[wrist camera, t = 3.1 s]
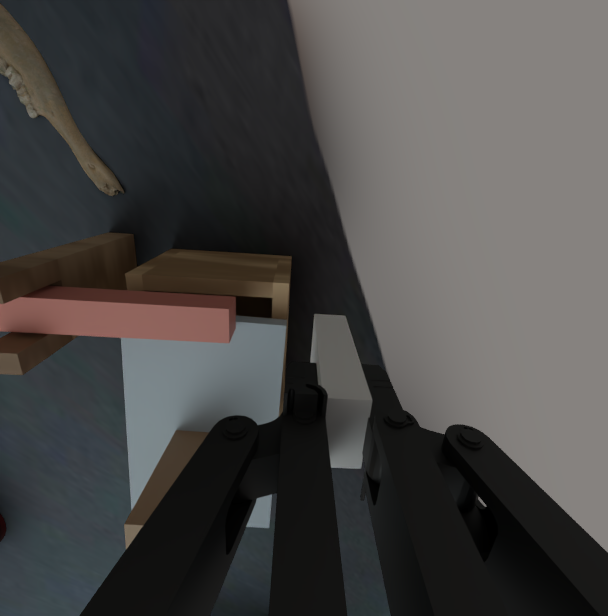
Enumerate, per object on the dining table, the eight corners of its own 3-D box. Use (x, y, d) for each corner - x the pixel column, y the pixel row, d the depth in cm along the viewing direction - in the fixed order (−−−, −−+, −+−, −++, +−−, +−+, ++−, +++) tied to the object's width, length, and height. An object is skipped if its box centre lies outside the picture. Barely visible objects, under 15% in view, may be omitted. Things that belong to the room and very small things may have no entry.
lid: (271, 503, 27) (258, 645, 18) (145, 495, 27) (70, 637, 18) (287, 315, 23) (281, 382, 14) (136, 302, 22) (29, 363, 13)
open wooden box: (283, 412, 34) (278, 477, 27) (183, 407, 34) (150, 472, 26) (291, 256, 28) (289, 283, 21) (171, 248, 28) (125, 273, 20)
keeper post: (139, 292, 29) (22, 375, 17) (116, 290, 29) (-19, 372, 17) (133, 234, 27) (-3, 278, 15) (108, 232, 27) (-50, 276, 15)
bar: (235, 328, 20) (229, 343, 18) (12, 316, 20) (-18, 330, 18) (235, 296, 19) (228, 309, 18) (3, 283, 19) (-29, 294, 17)
